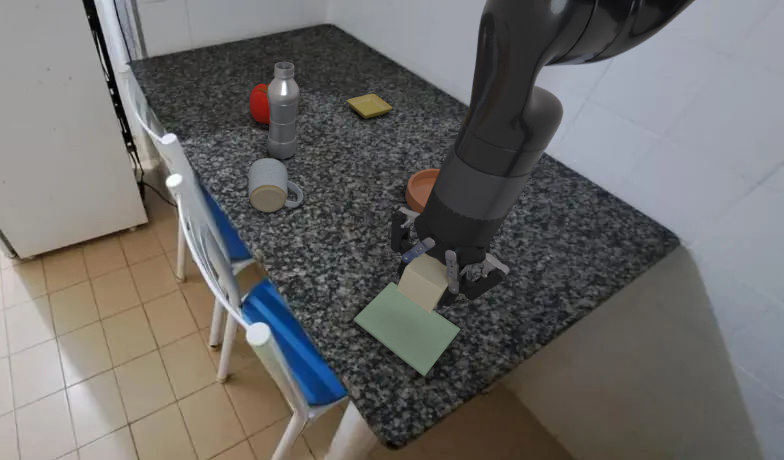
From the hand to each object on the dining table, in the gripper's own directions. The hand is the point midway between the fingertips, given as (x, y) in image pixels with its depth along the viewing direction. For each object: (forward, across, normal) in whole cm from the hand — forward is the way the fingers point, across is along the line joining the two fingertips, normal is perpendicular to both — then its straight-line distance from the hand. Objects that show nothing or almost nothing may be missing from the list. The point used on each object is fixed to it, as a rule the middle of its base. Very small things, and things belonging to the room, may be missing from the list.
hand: (423, 288), depth 51 cm
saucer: (+10, -41, +48) cm, 64 cm away
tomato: (+10, -55, +26) cm, 62 cm away
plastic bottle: (+10, -43, +18) cm, 48 cm away
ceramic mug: (+10, -33, +6) cm, 35 cm away
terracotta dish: (+9, -10, +30) cm, 33 cm away
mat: (+9, 0, 0) cm, 9 cm away
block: (0, 0, 0) cm, 0 cm away
